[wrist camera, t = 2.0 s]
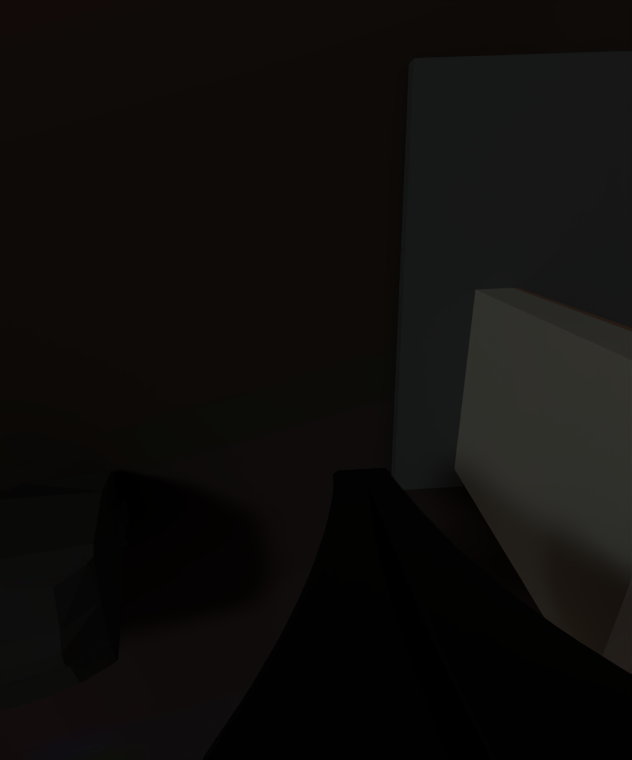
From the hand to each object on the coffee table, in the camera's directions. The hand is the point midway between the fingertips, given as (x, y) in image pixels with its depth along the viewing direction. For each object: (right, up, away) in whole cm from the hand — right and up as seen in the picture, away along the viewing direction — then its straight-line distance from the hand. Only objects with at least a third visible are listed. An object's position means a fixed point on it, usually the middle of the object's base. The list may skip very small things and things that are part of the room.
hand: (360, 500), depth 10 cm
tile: (+6, +3, +6) cm, 9 cm away
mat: (+10, +6, +6) cm, 13 cm away
